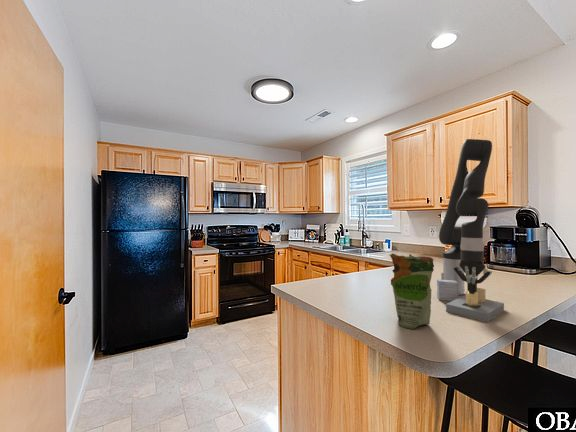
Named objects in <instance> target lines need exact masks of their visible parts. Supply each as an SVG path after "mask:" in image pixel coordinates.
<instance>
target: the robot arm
mask: <svg viewBox="0 0 576 432" xmlns="http://www.w3.org/2000/svg"><path fill="white" fill-rule="evenodd" d="M492 149H493V143H492V141H491V140H490V139H474V138H467V139H465V140H464V141H463V143H462V145H461V148H460V154H459V158H458V159H459V160H458V164H457V170H456V174H455V178H454V182H453V185H452V187H451V192H450V195H449V199H448V200H449V201H448V204H447V210H446V211H445V216H444V217H443V221H442V223H441V226H440V229H439V234H438V239H439V242H440V243H441V244H442V245H445V246H451V247H450V248H449V249H447V250H445V251H443V253H442V272H441V274H440V276H441V277H440V278H441V279H440V280H453V281H457V282H458V283H459V292H458V295H459V296H464V295H465V292H466V290H465V283H466V285H467V288H466V289H467V292H468V291H469V293H473V294H474V293H475V292H477V288H478V284H482V283H483V282H484V281H486V280H487V279H488V278H489V277H490V276H491V275H492V273H493V272H492V270H489V269H487V268H486V265H485V264H484V263H485V262H484V260H485V259H484V258H485V257H484V255H485V251H484V250H485V247H484V245H485V244H484V232H483V231H484V223H485V219H486V216H487V214H488V212H489V211H488V210H489V202H488V200H486V199H485V198H483V195H484V193H485V180H486V175H487V171H488V168H489V164H490V161H491V160H490V159H491V156H492ZM468 161H473V162H474V161H475V162H479V163H478V165H476V166H475V168H473V169H472V170H470V171H469V170H468V166H467V165H468V163H467V162H468ZM460 217H476V218H475V220H473V221H468V222H464V223H461V226H458V225H457V226H456V224H457V221H458V220H459V218H460ZM481 274H482V276H481V277H479V275H481Z"/></svg>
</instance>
